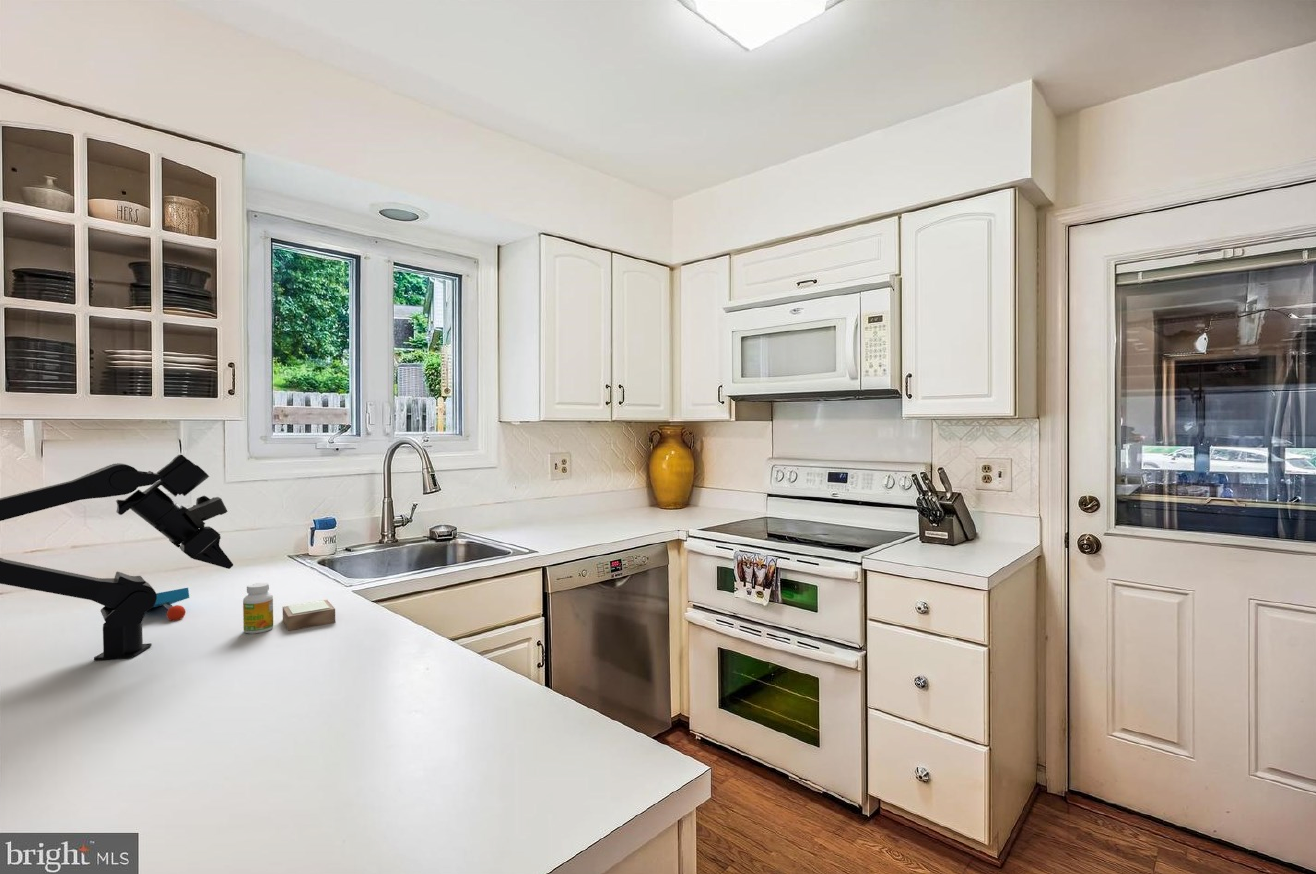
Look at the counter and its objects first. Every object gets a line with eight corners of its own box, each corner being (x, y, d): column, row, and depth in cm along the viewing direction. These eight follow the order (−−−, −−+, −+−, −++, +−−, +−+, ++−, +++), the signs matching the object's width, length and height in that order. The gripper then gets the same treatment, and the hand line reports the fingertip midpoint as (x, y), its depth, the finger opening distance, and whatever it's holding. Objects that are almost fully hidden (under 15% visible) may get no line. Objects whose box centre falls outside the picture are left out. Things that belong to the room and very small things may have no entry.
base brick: (288, 630, 133) (288, 615, 133) (282, 620, 140) (282, 605, 140) (335, 622, 139) (335, 607, 139) (327, 612, 146) (327, 598, 146)
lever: (135, 631, 147) (160, 624, 137) (132, 601, 148) (156, 592, 138) (171, 623, 153) (197, 616, 143) (167, 595, 154) (193, 585, 144)
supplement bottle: (239, 635, 130) (238, 589, 130) (248, 627, 135) (248, 582, 135) (268, 632, 132) (267, 587, 131) (276, 625, 137) (276, 580, 137)
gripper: (209, 487, 122) (271, 540, 129) (191, 481, 135) (248, 529, 142) (155, 530, 116) (223, 583, 124) (142, 519, 129) (204, 567, 137)
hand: (226, 563), depth 132 cm, fingers open, 9 cm apart
